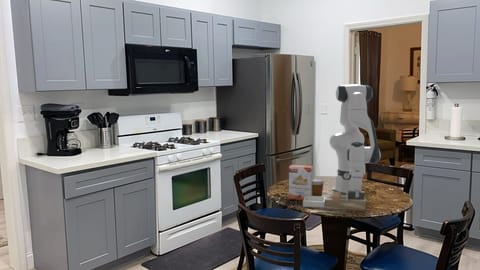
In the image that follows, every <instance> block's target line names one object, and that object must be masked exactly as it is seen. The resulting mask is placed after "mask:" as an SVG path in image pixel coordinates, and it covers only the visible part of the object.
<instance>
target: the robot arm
mask: <svg viewBox="0 0 480 270" xmlns="http://www.w3.org/2000/svg"><path fill="white" fill-rule="evenodd" d="M335 97H336V100H337V101H338V102H340V103H341V106H340V116H339V119H340V120H339V123H340V125H342V126H343V127H344V132H338V133H335V134H332V135H331V136H330V138H329V145H330V147H331V148H332V149H333V150H334V151H335V153H336V155H337V171H336V172H337V173H336V174H337V176H336V177H334V186H333V187H332V188H331V190H332V191H334V192H341V193H344V194H346V190H348V191H355V193H356V197H359V191H361V192H362V184H363V183H362V182H363V178H364V176H365V175H366V164H370V165H376V164H378V163H379V161H380V160H381V151H380V148H379V144H378V139H377V138H378V137H377V132H376V128H375V124H374V121H373V119H371V118H370V117H369V115H368V106H367V105H368V104H367V103H369V102H370V101H371V100H372V98H373V88H372V87H371V86H370V85H367V84H364V85H363V84H342V85H338V86H337V88H336V91H335ZM359 128H361V129H362V130H365V131H366V132H367V134H368V137H369V143H370V146H365V136H364V134H363V133H362V132H361V131H360V129H359Z"/></svg>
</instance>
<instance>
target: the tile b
mask: <svg viewBox="0 0 480 270" xmlns="http://www.w3.org/2000/svg"><path fill="white" fill-rule="evenodd" d="M332 199H333V200H340V194H333V193H332Z"/></svg>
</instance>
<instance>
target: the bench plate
mask: <svg viewBox="0 0 480 270" xmlns="http://www.w3.org/2000/svg"><path fill="white" fill-rule="evenodd" d="M332 194H333V193H332ZM332 194H331V193H328V194H327V193H326V195H325V197H326V198H325V208H324V209H331V210H332V209H333V210H348V211H364V212H365V211H366V198H365V199H364V200H363V199H348V201H346V194H341V197H340V200H333V199H332Z"/></svg>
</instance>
